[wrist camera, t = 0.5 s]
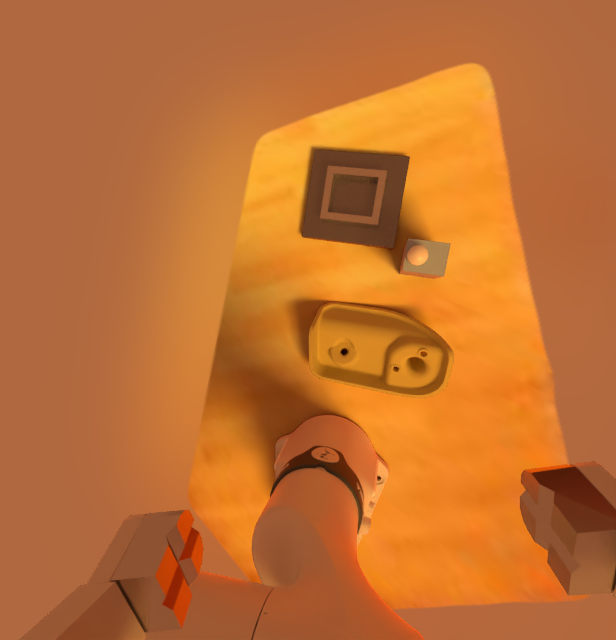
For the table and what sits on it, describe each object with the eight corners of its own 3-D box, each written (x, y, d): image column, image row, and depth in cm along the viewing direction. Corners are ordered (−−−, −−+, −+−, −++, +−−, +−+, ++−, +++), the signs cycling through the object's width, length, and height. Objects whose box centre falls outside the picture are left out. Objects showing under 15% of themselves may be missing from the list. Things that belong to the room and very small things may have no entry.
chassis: (393, 249, 51) (393, 246, 49) (303, 237, 54) (299, 234, 51) (409, 159, 50) (410, 151, 47) (316, 152, 53) (312, 144, 50)
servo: (433, 278, 51) (445, 276, 41) (399, 273, 52) (402, 270, 42) (438, 251, 50) (452, 242, 40) (404, 247, 51) (409, 236, 41)
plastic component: (309, 377, 54) (308, 323, 49) (322, 350, 60) (323, 299, 54) (442, 405, 48) (457, 347, 43) (441, 372, 54) (455, 319, 49)
